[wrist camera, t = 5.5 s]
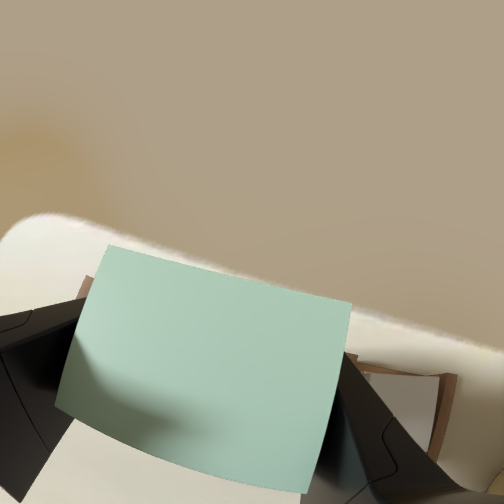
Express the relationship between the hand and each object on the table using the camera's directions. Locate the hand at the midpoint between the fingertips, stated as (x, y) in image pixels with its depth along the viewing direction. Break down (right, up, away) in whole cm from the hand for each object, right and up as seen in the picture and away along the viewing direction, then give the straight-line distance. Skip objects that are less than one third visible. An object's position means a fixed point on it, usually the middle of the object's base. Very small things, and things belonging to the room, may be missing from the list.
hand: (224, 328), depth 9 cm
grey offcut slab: (+10, -8, +8) cm, 15 cm away
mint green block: (0, -4, +6) cm, 7 cm away
